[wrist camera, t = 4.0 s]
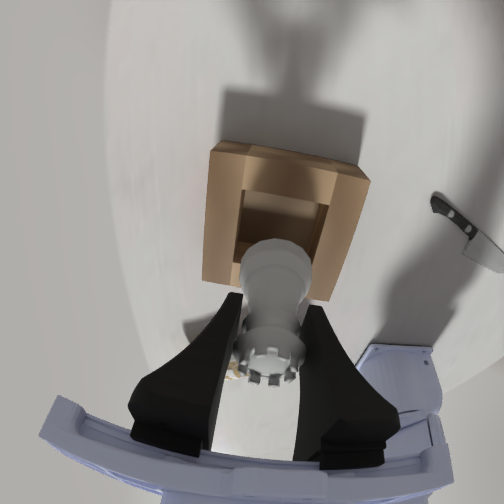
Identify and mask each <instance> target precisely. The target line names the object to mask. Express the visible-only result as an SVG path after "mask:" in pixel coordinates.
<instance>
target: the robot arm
mask: <svg viewBox="0 0 504 504" xmlns="http://www.w3.org/2000/svg"><path fill="white" fill-rule="evenodd" d="M242 300H243V294H240V293H234V292H230V293H228V295H227V297H226V299H225V301H224V303H223V304H222V306H221V307H220V309H219V311H218V312H217V313H216V315H215V316H214V317H213V319H212V320H211V321H210V323H209V324H208V325H207V326H206V327H205V329H204V330H203V331H202V332H201V333H200V334H199V335H198V336H197V338H196V339H195V340H194V341H193V342H191V343H190V344H189V345H188V346H187V347H186V348H185V349H184V350H183V351H182V352H180V353H179V354H178V355H177V356H175V357H174V358H173V359H171V360H170V361H169V362H167V363H166V364H164V365H163V366H162V367H160V368H159V369H157V370H155V371H154V372H152V373H150V374H148V375H147V376H145V377H144V378H142V379H141V380H140V382H139V383H138V385H137V386H136V388H135V390H134V391H133V393H132V396H131V398H130V401H129V403H128V409H129V411H130V413H131V415H132V416H133V418H134V420H135V421H134V424H133V427H132V430H129V429H126V428H123V427H120V426H118V425H115V424H112V423H110V422H107V421H105V420H102V419H100V418H97V417H95V416H92V415H90V414H88V413H86V412H85V410H84V409H83V407H81V406H80V405H79V404H77V403H75V402H73V401H71V400H68V399H66V398H64V397H62V396H60V395H58V396H57V398H56V400H55V401H54V403H53V406H52V408H51V410H50V412H49V414H48V416H47V418H46V420H45V422H44V424H43V427H42V429H41V431H40V433H39V437H41V438H42V439H43V440H44V441H45V442H47V443H48V444H50V445H51V446H52V447H54V448H55V449H56V450H57V451H59V452H60V453H62V454H64V455H66V456H67V457H69V458H71V459H73V460H75V461H77V462H79V463H81V464H83V465H85V466H87V467H89V468H92V469H94V470H96V471H98V472H100V473H102V474H105V475H107V476H109V477H111V478H114V479H116V480H119V481H121V482H124V483H126V484H129V485H132V486H134V487H137V488H140V489H143V490H146V491H148V492H152V493H155V494H158V495H161V496H162V499H161V503H160V504H428V497H429V496H430V495H431V494H432V493H433V492H434V491H436V490H438V489H441V488H443V487H445V486H448V485H450V484H452V483H453V482H454V477H453V471H452V465H451V459H450V453H449V448H448V444H447V443H446V441H445V436H444V432H443V428H442V424H441V421H440V418H439V416H438V415H437V414H438V413H439V411H440V408H441V404H442V389H441V386H440V383H439V379H438V376H437V373H436V370H435V367H434V364H433V361H432V358H431V355H430V354H431V353H432V352H433V348H432V347H419V346H400V345H384V344H371V345H369V347H368V348H367V350H366V351H365V353H364V354H363V356H362V357H361V359H360V360H359V362H358V363H357V365H356V366H354V364H353V363H352V361H351V360H350V358H349V357H348V355H347V354H346V352H345V350H344V349H343V347H342V345H341V344H340V342H339V340H338V338H337V336H336V335H335V333H334V331H333V329H332V327H331V325H330V323H329V321H328V319H327V316H326V314H325V312H324V310H323V308H322V306H316V305H309V307H308V310H307V313H306V315H305V318H304V321H303V324H302V326H301V333H300V336H299V339H300V340H301V341H302V342H303V343H304V344H305V347H306V351H307V356H306V358H305V361H304V363H303V364H302V365H301V366H300V367H299V376H300V405H299V417H298V427H297V435H296V442H295V449H294V455H293V461H282V460H270V459H260V458H251V457H243V456H236V455H229V454H223V453H217V452H212V451H211V447H212V441H213V436H214V430H215V425H216V419H217V414H218V408H219V403H220V398H221V393H222V387H223V383H224V379H225V375H226V372H227V369H228V365H229V362H230V359H231V355H232V349H233V343H234V342H235V341H236V337H237V331H238V326H239V319H240V313H241V306H242Z"/></svg>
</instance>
